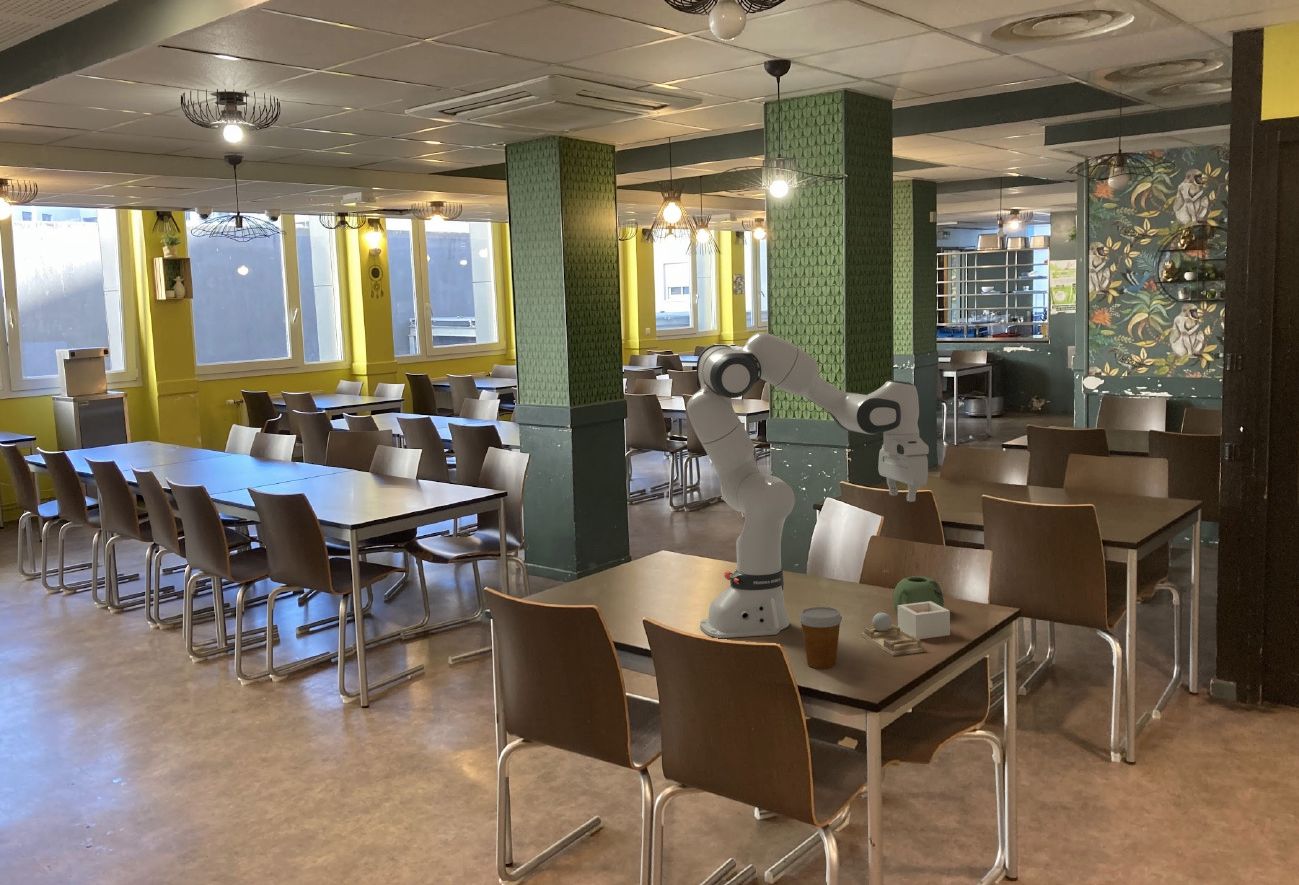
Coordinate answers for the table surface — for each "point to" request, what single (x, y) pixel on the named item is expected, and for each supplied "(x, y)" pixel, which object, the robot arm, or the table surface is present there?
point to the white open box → (924, 620)
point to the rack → (893, 641)
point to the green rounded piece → (917, 591)
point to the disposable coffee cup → (820, 635)
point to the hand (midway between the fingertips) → (902, 498)
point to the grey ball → (882, 622)
